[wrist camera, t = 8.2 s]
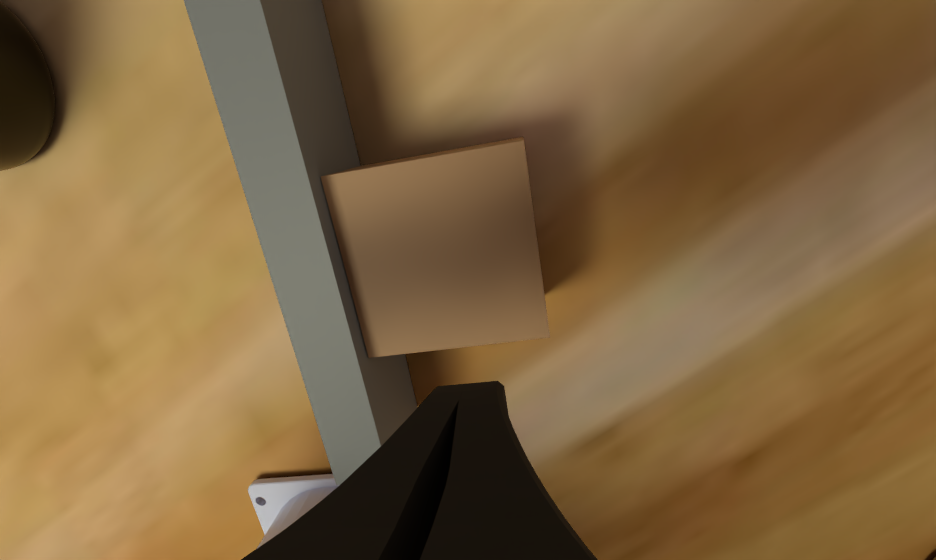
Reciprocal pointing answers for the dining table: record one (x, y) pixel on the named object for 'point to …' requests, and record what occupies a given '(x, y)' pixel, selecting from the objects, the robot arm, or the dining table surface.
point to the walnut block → (441, 249)
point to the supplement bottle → (22, 93)
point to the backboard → (301, 206)
